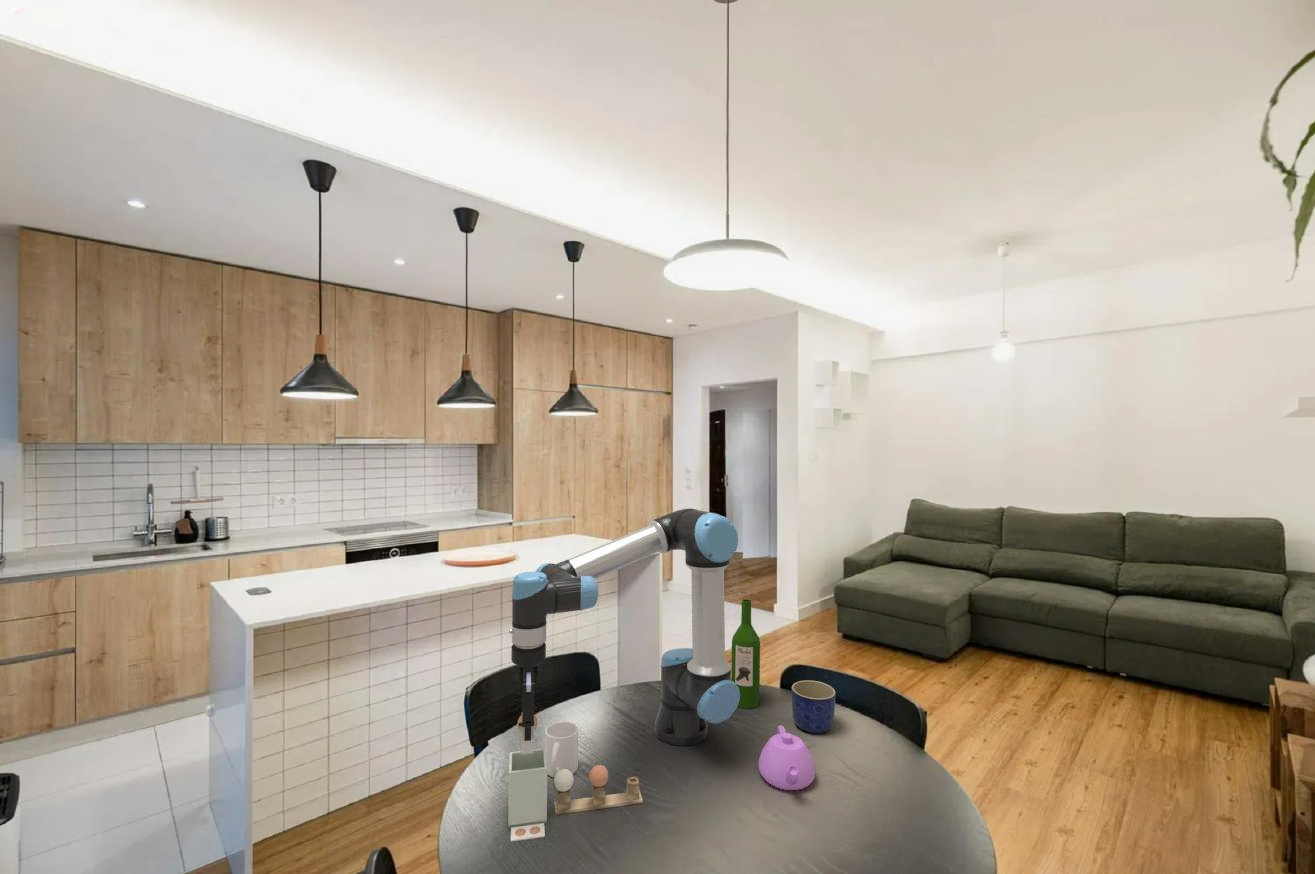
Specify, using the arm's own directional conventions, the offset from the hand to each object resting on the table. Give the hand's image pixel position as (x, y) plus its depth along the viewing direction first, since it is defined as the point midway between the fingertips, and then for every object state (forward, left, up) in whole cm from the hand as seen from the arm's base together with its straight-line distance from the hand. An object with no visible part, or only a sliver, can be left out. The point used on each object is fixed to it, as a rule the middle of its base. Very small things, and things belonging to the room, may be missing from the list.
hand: (527, 746), depth 130 cm
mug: (-8, -14, -15) cm, 22 cm away
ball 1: (0, 0, +3) cm, 3 cm away
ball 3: (-16, 0, -11) cm, 19 cm away
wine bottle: (-68, -40, -15) cm, 80 cm away
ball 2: (-8, 0, -11) cm, 14 cm away
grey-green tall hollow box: (0, 0, -15) cm, 15 cm away
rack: (-16, 0, -15) cm, 22 cm away
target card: (0, +6, -15) cm, 16 cm away
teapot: (-63, 0, -15) cm, 65 cm away
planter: (-82, -22, -15) cm, 86 cm away
